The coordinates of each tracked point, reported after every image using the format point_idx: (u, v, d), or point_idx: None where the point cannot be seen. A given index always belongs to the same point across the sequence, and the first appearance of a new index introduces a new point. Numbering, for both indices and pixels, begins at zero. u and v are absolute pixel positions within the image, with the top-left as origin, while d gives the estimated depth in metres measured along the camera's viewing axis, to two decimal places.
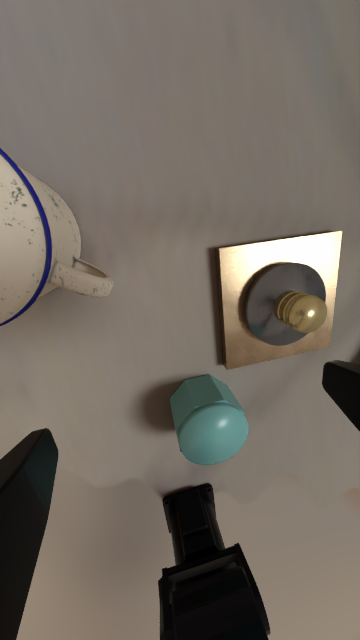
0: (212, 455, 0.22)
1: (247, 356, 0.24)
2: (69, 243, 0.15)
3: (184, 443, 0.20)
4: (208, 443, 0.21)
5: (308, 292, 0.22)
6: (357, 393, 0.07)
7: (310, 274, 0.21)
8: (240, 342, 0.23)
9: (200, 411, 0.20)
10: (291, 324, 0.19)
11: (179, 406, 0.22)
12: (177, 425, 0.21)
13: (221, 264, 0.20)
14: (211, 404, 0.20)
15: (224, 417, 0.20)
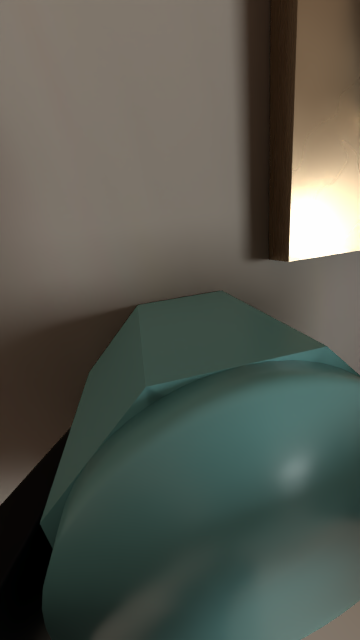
0: (247, 636, 0.04)
1: None
2: None
3: (78, 623, 0.03)
4: (230, 596, 0.04)
5: None
6: None
7: None
8: (350, 138, 0.06)
9: (178, 419, 0.03)
10: None
11: (96, 393, 0.05)
12: (51, 498, 0.04)
13: None
14: (254, 371, 0.03)
15: (337, 456, 0.03)
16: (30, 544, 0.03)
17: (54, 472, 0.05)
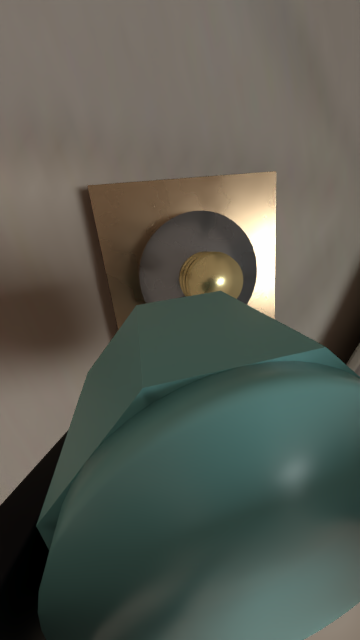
0: (245, 638, 0.04)
1: None
2: None
3: (76, 625, 0.03)
4: (228, 599, 0.04)
5: (230, 257, 0.15)
6: None
7: (230, 230, 0.15)
8: None
9: (175, 420, 0.03)
10: None
11: (94, 394, 0.05)
12: (48, 499, 0.04)
13: (94, 211, 0.14)
14: (252, 372, 0.03)
15: (336, 458, 0.03)
16: (30, 544, 0.03)
17: None
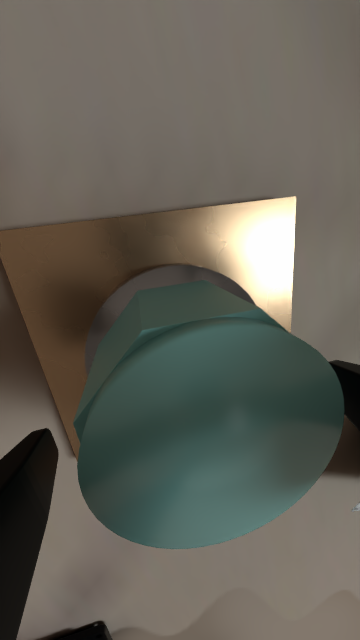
0: (213, 517, 0.06)
1: None
2: None
3: (99, 482, 0.05)
4: (198, 478, 0.06)
5: None
6: (357, 393, 0.07)
7: None
8: None
9: (161, 344, 0.04)
10: None
11: (106, 351, 0.07)
12: (79, 410, 0.05)
13: (8, 270, 0.09)
14: (210, 321, 0.05)
15: (263, 376, 0.05)
16: None
17: None
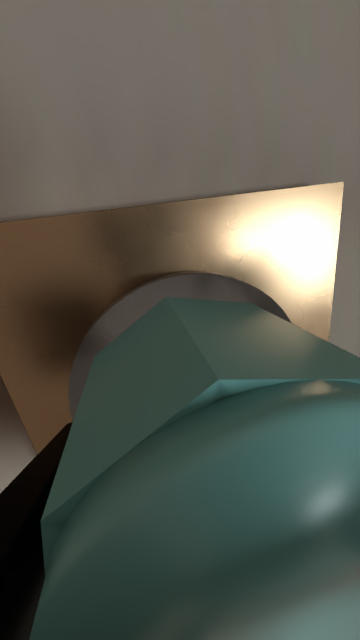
0: None
1: None
2: None
3: (176, 522, 0.02)
4: (234, 622, 0.03)
5: None
6: None
7: None
8: None
9: None
10: None
11: (232, 326, 0.05)
12: (224, 368, 0.03)
13: None
14: None
15: None
16: (12, 549, 0.03)
17: (41, 475, 0.05)
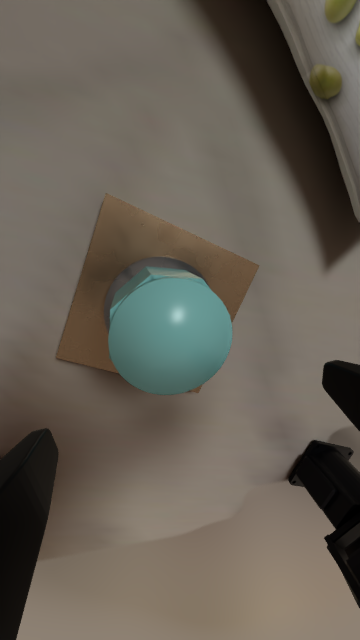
0: (137, 361, 0.12)
1: None
2: None
3: (139, 298, 0.11)
4: (157, 338, 0.12)
5: None
6: (357, 393, 0.07)
7: (136, 271, 0.15)
8: None
9: (206, 287, 0.12)
10: None
11: (165, 271, 0.13)
12: (153, 274, 0.12)
13: (75, 361, 0.18)
14: None
15: (213, 330, 0.12)
16: None
17: None
